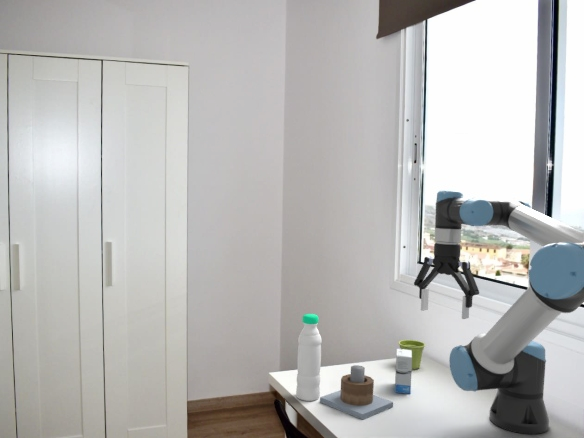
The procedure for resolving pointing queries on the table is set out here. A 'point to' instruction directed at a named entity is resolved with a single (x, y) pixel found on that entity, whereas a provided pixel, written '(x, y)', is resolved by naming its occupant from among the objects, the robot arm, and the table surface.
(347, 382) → the collar
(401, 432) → the table surface
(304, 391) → the water bottle
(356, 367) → the stand
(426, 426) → the table surface
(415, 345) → the plant pot
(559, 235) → the robot arm
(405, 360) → the ink box
